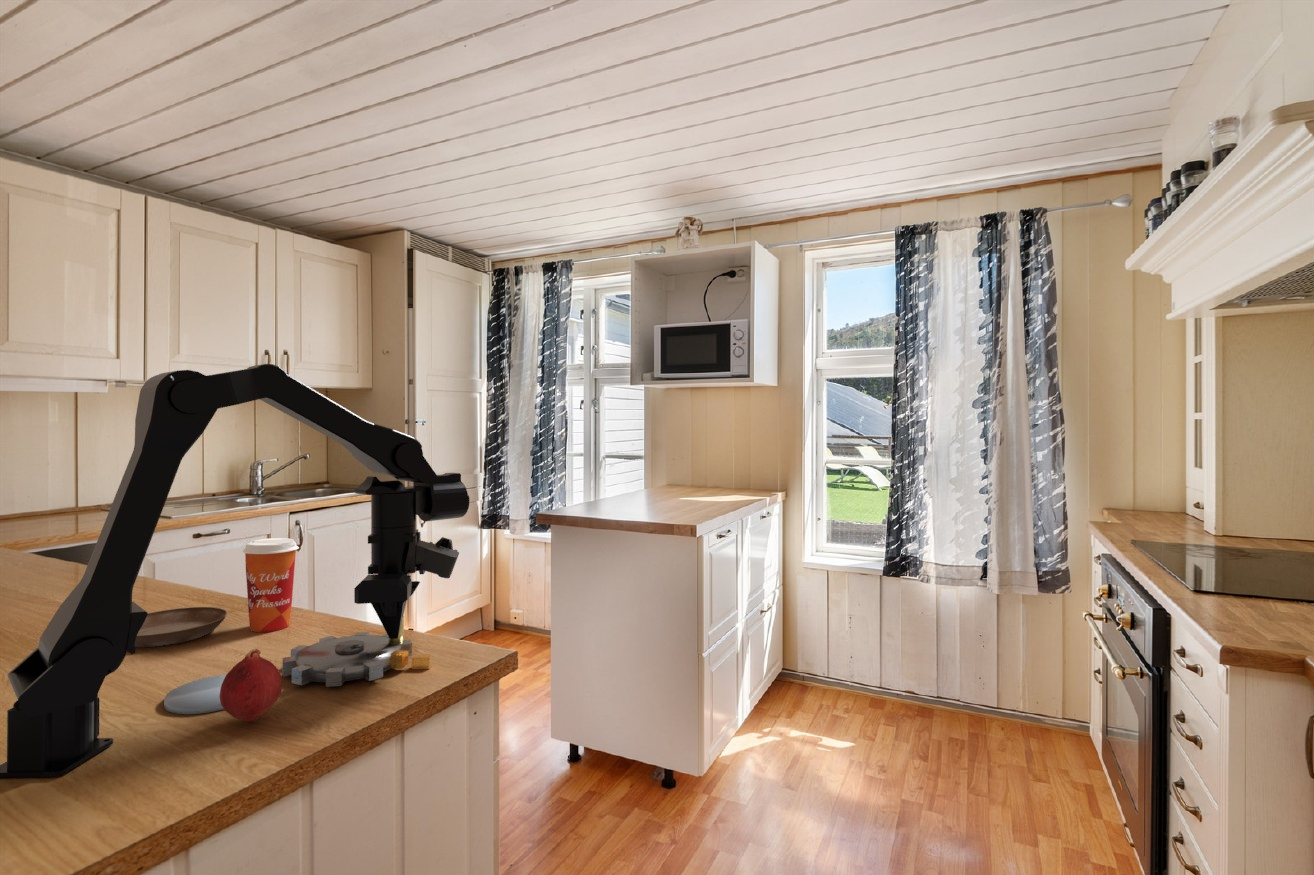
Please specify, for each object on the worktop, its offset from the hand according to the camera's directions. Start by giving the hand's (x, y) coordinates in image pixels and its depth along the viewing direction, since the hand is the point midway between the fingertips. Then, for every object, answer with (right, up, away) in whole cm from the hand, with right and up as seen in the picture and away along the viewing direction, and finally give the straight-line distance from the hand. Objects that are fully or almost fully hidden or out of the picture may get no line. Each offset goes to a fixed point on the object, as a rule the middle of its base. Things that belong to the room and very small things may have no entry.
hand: (394, 638), depth 88 cm
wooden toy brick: (-2, -4, -1) cm, 4 cm away
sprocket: (-6, -4, -1) cm, 7 cm away
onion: (-9, -4, -17) cm, 20 cm away
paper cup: (-27, -3, +16) cm, 31 cm away
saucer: (-39, -4, +11) cm, 41 cm away
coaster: (-17, -4, -11) cm, 21 cm away
